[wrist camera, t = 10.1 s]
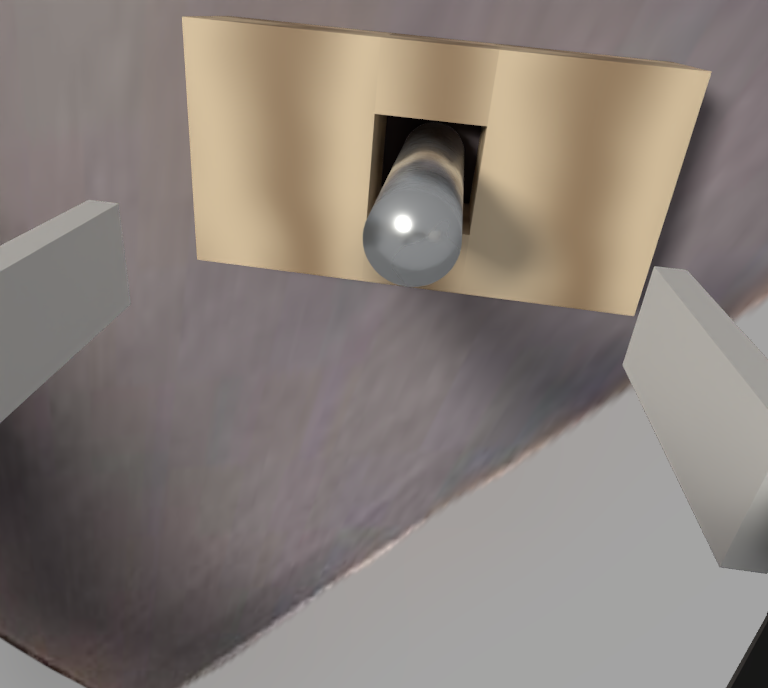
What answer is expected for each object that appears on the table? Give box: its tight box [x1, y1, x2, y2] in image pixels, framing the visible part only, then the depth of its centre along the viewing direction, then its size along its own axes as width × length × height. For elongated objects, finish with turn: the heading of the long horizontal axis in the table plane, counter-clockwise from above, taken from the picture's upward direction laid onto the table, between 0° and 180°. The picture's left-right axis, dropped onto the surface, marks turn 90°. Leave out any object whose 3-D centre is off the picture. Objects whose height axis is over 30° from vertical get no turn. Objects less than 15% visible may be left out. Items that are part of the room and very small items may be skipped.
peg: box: [363, 122, 465, 287], centre depth 24 cm, size 3×3×13 cm
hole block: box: [182, 16, 711, 316], centre depth 28 cm, size 20×10×5 cm, turn 85°
